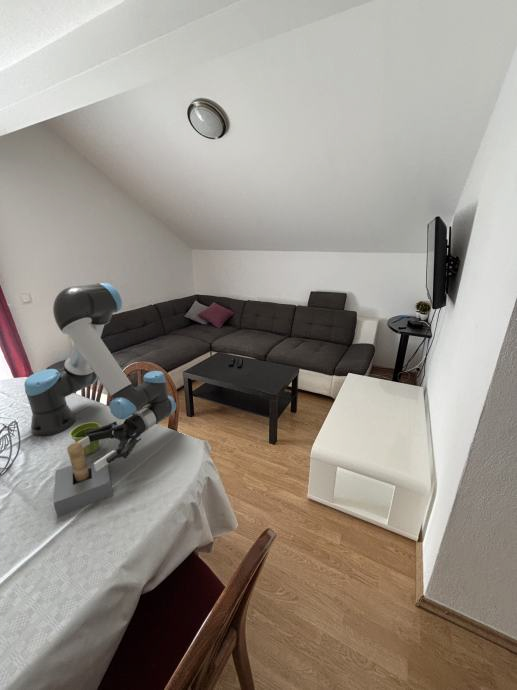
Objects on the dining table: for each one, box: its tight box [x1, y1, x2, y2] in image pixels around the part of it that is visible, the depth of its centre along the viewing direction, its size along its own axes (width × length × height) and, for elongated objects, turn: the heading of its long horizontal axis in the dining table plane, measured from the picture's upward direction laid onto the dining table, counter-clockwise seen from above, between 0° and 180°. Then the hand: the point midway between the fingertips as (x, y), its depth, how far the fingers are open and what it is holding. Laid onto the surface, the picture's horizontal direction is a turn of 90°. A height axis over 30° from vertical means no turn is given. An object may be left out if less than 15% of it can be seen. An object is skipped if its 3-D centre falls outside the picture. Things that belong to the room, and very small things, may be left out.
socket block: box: [53, 453, 114, 517], centre depth 87 cm, size 14×14×5 cm
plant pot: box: [69, 421, 101, 456], centre depth 104 cm, size 9×9×9 cm
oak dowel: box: [66, 442, 90, 483], centre depth 85 cm, size 4×4×15 cm
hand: (81, 459), depth 85 cm, fingers open, 13 cm apart
